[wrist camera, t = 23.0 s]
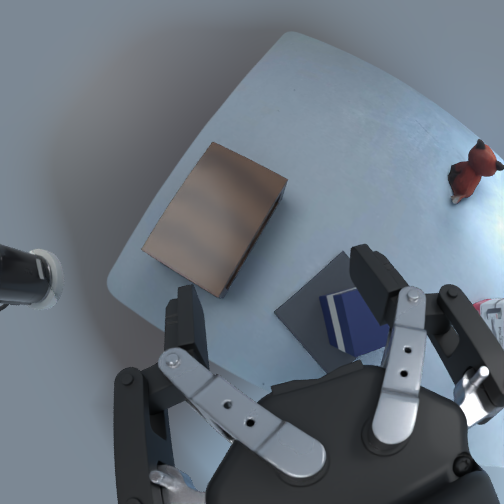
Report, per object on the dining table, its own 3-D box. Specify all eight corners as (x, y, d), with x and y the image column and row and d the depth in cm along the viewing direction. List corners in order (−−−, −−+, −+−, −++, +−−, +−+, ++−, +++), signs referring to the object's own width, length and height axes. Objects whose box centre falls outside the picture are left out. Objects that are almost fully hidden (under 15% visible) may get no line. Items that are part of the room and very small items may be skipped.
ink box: (470, 304, 43) (513, 301, 31) (486, 298, 43) (528, 295, 31) (472, 348, 41) (514, 353, 29) (488, 340, 41) (529, 344, 30)
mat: (331, 378, 41) (332, 379, 40) (273, 312, 42) (274, 312, 42) (394, 317, 42) (396, 317, 42) (342, 251, 44) (343, 250, 44)
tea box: (329, 344, 41) (354, 357, 30) (318, 296, 42) (341, 294, 31) (360, 335, 41) (392, 343, 30) (349, 287, 43) (379, 282, 32)
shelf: (223, 298, 43) (218, 297, 36) (156, 257, 44) (140, 249, 37) (282, 197, 45) (288, 179, 39) (217, 163, 46) (212, 141, 39)
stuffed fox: (436, 196, 46) (474, 172, 34) (447, 155, 48) (480, 128, 36) (463, 218, 45) (502, 199, 34) (472, 176, 47) (506, 154, 35)
